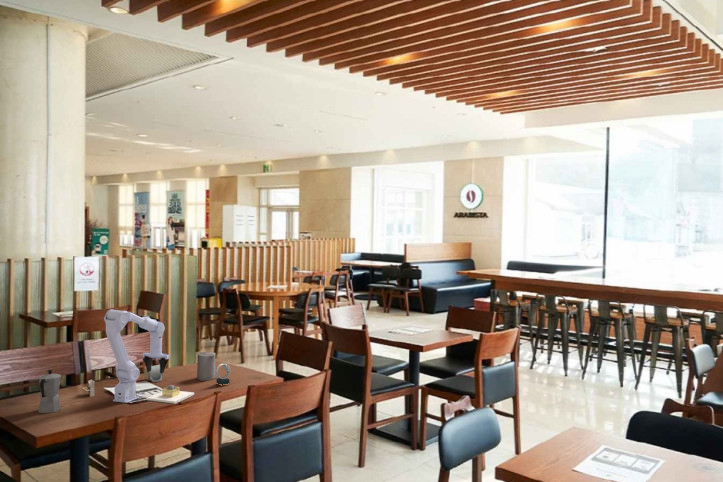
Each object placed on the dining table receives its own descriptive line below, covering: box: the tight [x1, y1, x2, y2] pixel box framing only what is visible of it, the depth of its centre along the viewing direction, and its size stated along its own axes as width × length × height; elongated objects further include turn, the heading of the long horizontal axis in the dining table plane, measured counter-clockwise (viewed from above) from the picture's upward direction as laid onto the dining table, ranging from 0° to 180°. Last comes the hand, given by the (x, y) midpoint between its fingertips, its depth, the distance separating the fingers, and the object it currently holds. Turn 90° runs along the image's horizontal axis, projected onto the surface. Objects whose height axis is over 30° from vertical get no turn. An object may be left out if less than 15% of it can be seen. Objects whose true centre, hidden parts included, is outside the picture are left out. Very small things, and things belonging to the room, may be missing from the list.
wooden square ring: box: [161, 386, 181, 397], centre depth 282 cm, size 6×6×4 cm
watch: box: [215, 363, 232, 385], centre depth 308 cm, size 6×8×11 cm
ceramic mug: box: [143, 364, 164, 383], centre depth 313 cm, size 11×8×8 cm
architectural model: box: [82, 379, 95, 398], centre depth 283 cm, size 3×7×7 cm, turn 42°
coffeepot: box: [38, 369, 62, 414], centre depth 258 cm, size 15×9×18 cm, turn 6°
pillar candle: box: [196, 351, 217, 381], centre depth 320 cm, size 10×10×15 cm
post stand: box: [145, 384, 195, 404], centre depth 282 cm, size 16×16×6 cm
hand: (155, 372), depth 293 cm, fingers open, 7 cm apart
